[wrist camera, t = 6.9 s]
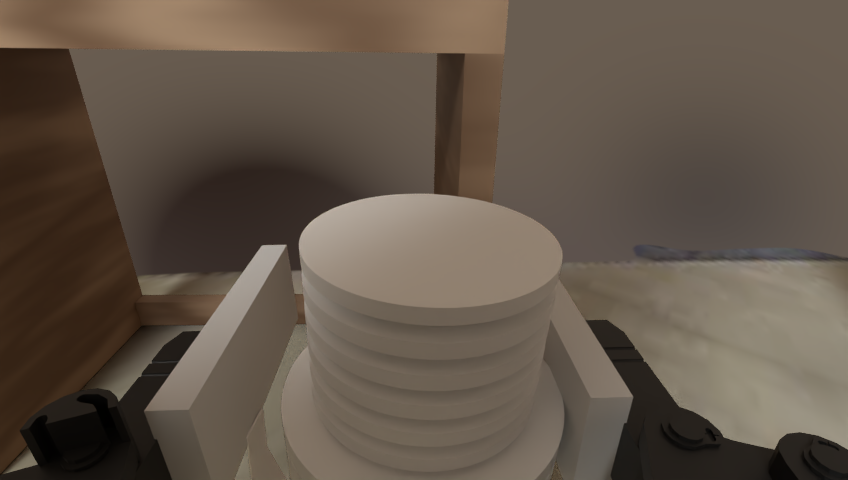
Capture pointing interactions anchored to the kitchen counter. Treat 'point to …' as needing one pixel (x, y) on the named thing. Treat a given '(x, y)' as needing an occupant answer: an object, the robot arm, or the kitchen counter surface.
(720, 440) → the robot arm
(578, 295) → the kitchen counter surface
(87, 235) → the counter shelf
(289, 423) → the downlight
